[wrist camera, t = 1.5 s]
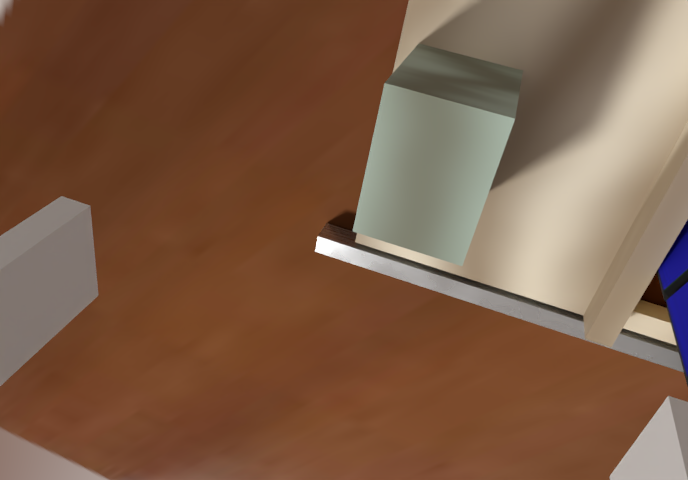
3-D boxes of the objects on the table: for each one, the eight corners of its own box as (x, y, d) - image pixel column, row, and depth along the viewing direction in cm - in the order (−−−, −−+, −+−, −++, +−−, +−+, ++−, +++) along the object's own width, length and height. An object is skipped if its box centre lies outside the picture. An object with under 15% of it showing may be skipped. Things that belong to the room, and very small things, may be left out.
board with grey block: (1170, 82, 19) (1448, 170, 13) (864, 390, 27) (950, 529, 21) (432, -84, 23) (390, -73, 17) (361, 231, 31) (316, 311, 25)
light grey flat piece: (1319, 65, 18) (1375, 79, 17) (912, 427, 28) (929, 452, 27) (392, -132, 23) (383, -134, 21) (324, 237, 32) (314, 251, 31)
